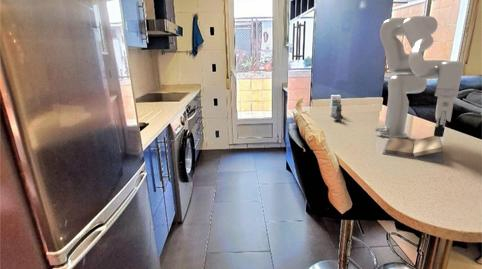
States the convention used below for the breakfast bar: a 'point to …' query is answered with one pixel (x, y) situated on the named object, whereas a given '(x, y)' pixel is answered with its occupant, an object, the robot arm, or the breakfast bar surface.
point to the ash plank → (427, 145)
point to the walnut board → (400, 147)
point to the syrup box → (334, 104)
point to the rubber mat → (422, 156)
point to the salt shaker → (338, 114)
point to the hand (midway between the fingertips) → (438, 136)
